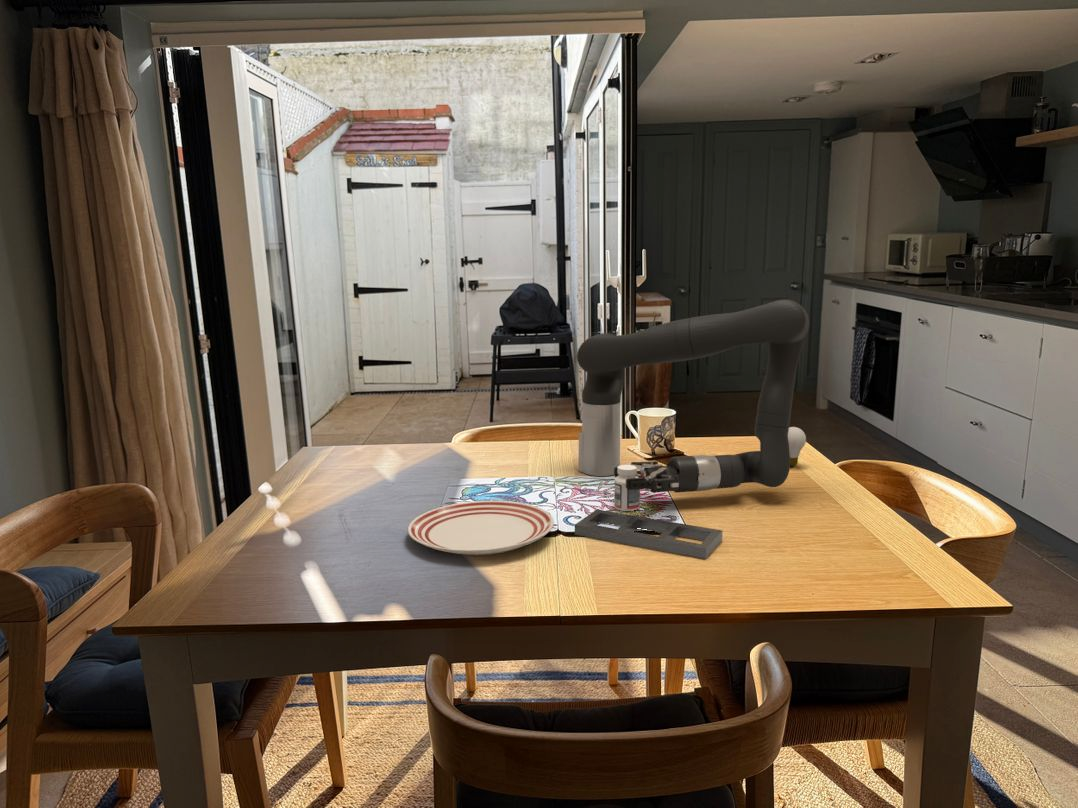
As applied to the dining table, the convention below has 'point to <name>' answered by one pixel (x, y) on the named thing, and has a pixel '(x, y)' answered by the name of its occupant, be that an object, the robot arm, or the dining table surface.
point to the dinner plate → (481, 527)
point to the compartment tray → (660, 543)
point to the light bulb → (795, 444)
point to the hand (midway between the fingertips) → (620, 478)
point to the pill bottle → (622, 495)
